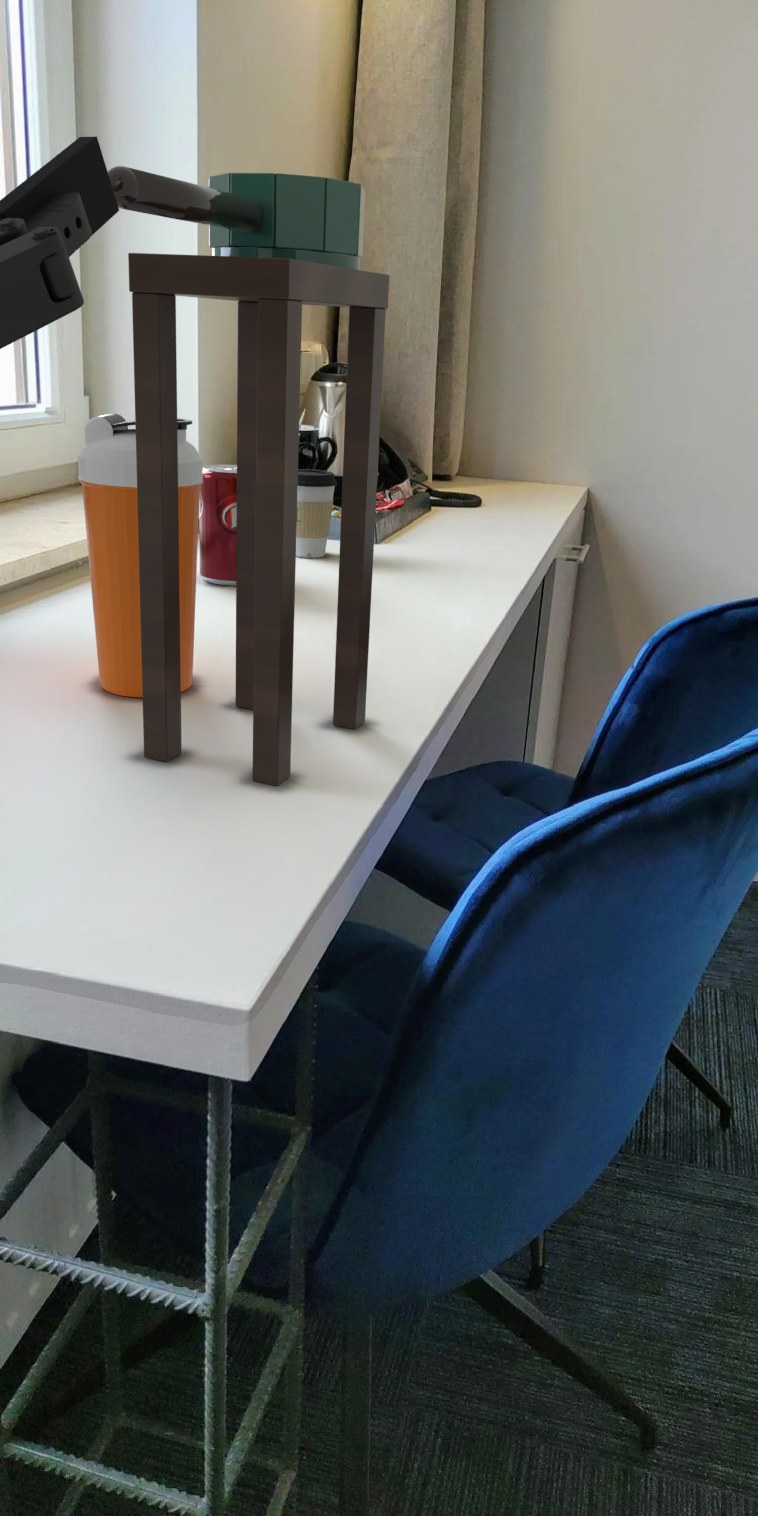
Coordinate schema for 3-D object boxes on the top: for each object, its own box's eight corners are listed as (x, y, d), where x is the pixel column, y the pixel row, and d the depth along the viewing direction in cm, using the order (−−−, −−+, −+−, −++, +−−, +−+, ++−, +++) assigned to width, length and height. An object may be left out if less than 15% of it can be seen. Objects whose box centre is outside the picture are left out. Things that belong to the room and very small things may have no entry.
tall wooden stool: (278, 787, 69) (289, 258, 58) (141, 757, 72) (127, 252, 61) (367, 722, 81) (389, 274, 70) (246, 699, 84) (250, 269, 74)
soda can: (185, 578, 122) (184, 466, 118) (230, 569, 128) (230, 462, 123) (235, 589, 118) (236, 474, 114) (279, 580, 124) (281, 469, 120)
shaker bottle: (200, 703, 83) (198, 425, 76) (78, 700, 82) (64, 418, 75) (207, 669, 91) (206, 414, 84) (96, 666, 90) (86, 409, 83)
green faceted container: (254, 269, 73) (255, 191, 72) (385, 274, 70) (389, 193, 69) (31, 239, 54) (25, 131, 52) (198, 244, 51) (198, 130, 49)
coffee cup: (295, 547, 142) (297, 467, 139) (342, 553, 140) (345, 472, 137) (272, 555, 137) (274, 472, 133) (321, 561, 134) (324, 477, 131)
